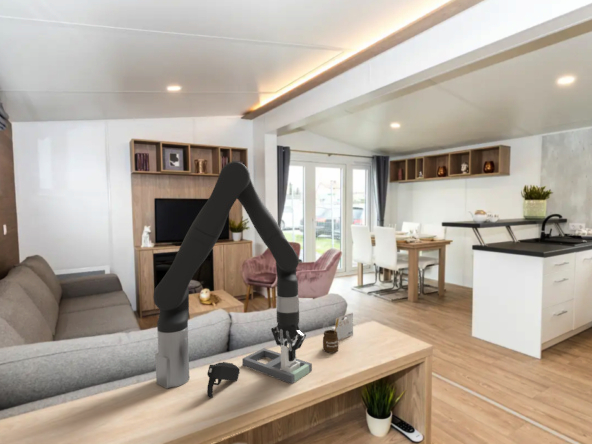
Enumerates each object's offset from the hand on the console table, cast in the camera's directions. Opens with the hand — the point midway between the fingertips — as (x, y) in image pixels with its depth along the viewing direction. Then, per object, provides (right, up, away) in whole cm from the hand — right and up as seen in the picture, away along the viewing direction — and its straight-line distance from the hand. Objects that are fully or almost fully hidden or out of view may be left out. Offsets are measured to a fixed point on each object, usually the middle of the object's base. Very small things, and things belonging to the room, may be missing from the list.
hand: (288, 359), depth 119 cm
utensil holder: (+16, -4, +18) cm, 25 cm away
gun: (-20, -6, -8) cm, 22 cm away
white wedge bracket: (+1, -5, 0) cm, 5 cm away
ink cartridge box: (+22, -3, +31) cm, 38 cm away
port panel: (-4, -4, +4) cm, 7 cm away
